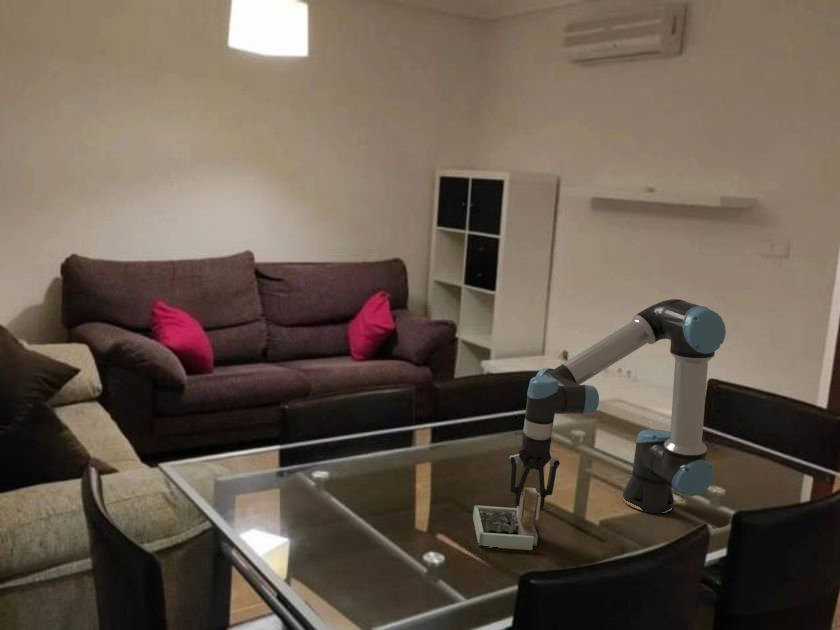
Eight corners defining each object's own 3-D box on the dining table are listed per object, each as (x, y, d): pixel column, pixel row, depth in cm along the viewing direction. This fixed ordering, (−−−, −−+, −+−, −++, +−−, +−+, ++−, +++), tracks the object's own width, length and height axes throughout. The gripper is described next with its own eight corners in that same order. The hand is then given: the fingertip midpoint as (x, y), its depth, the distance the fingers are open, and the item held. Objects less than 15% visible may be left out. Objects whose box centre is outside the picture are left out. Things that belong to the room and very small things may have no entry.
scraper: (528, 524, 217) (534, 481, 214) (536, 546, 205) (542, 500, 203) (514, 524, 217) (519, 480, 214) (521, 545, 205) (527, 499, 202)
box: (522, 520, 219) (523, 508, 218) (532, 550, 203) (533, 537, 202) (472, 516, 219) (474, 505, 218) (478, 546, 202) (480, 534, 201)
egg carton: (478, 532, 210) (479, 518, 210) (476, 519, 218) (478, 506, 217) (517, 535, 210) (519, 521, 210) (514, 522, 218) (516, 509, 217)
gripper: (566, 432, 209) (555, 513, 214) (503, 427, 209) (494, 508, 213) (572, 442, 202) (561, 525, 207) (507, 437, 201) (497, 521, 206)
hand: (527, 516), depth 210 cm, fingers open, 4 cm apart
